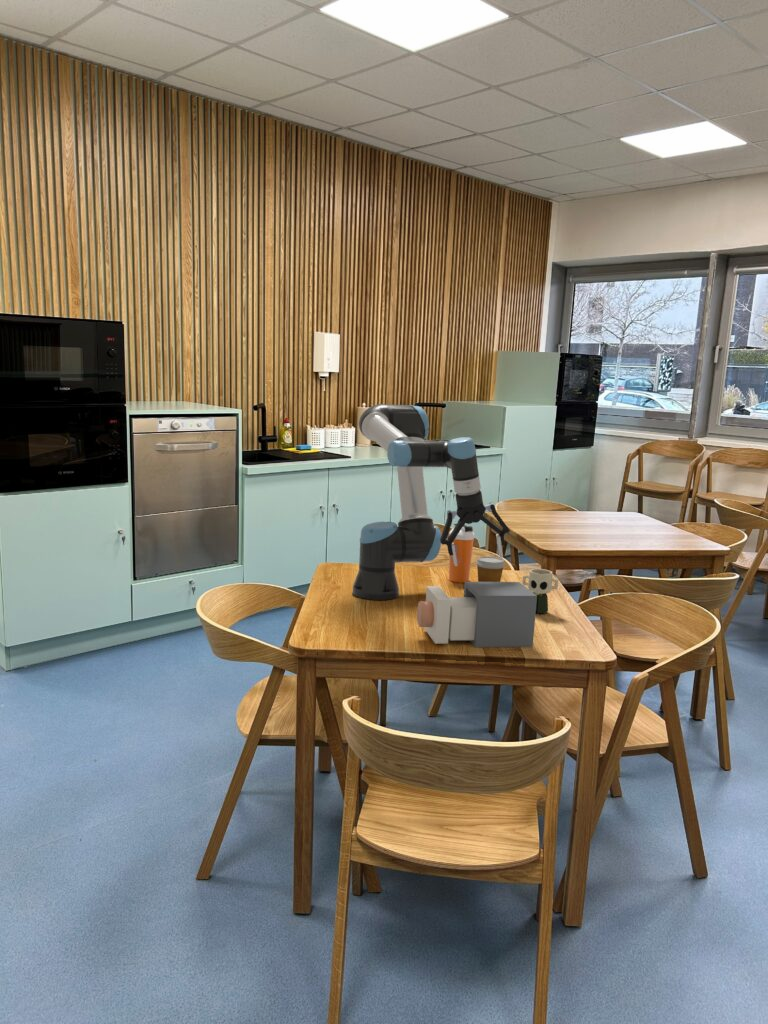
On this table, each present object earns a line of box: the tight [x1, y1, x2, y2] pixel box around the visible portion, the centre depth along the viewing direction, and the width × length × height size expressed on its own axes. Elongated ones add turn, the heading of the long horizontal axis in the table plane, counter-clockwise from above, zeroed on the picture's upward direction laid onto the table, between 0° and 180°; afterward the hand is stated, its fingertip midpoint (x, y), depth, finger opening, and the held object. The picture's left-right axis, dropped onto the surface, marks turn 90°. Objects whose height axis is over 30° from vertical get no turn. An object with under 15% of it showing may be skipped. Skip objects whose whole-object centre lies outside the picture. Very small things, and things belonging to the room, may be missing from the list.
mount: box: [463, 581, 537, 648], centre depth 207 cm, size 16×14×14 cm
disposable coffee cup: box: [475, 556, 506, 582], centre depth 252 cm, size 10×10×12 cm
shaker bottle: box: [448, 523, 476, 584], centre depth 267 cm, size 9×9×20 cm
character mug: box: [522, 568, 559, 614], centre depth 234 cm, size 11×7×13 cm, turn 69°
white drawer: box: [416, 585, 477, 645], centre depth 205 cm, size 21×13×12 cm, turn 100°
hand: (478, 560), depth 222 cm, fingers open, 13 cm apart
